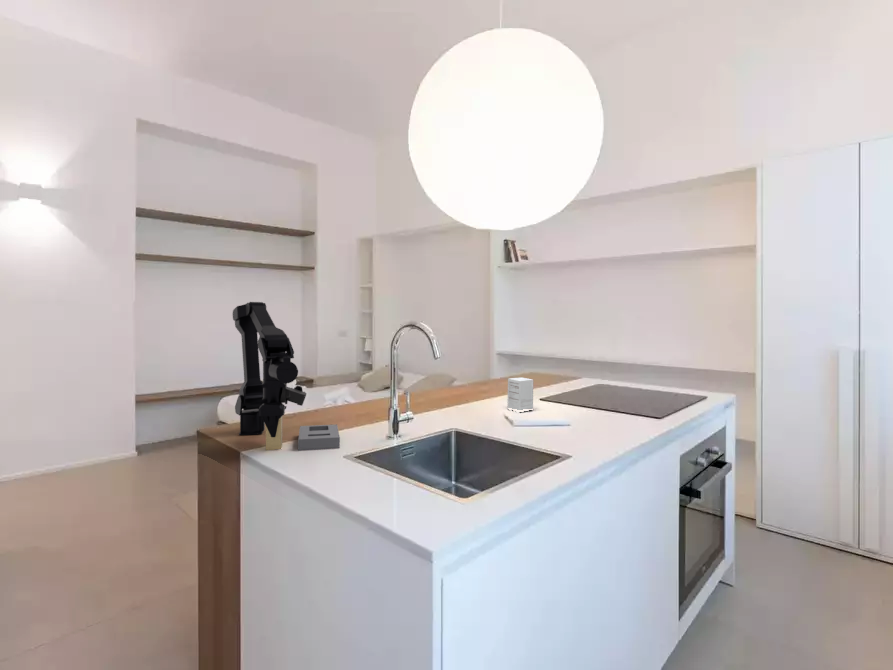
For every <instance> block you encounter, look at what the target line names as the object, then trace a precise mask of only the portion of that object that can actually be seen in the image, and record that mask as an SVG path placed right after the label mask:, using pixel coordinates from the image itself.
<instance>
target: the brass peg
mask: <svg viewBox="0 0 893 670" xmlns="http://www.w3.org/2000/svg"><path fill="white" fill-rule="evenodd" d="M281 448H283V416H282V417H281V418H280V419H279V422H278V427H277V432H276V437H271V435H270V433H269V431H268V429H267V427H266V426H265V451H275V450H274V449H281ZM281 450H282V449H281Z"/></svg>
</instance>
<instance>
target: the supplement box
mask: <svg viewBox="0 0 893 670" xmlns="http://www.w3.org/2000/svg"><path fill="white" fill-rule="evenodd" d="M508 408H512V409H517V410H523V409H532V408H533V409H534V379H531V378H528V377H527V378H526V377H522V376H521V377H511V378H507V409H508Z"/></svg>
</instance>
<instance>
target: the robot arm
mask: <svg viewBox="0 0 893 670" xmlns="http://www.w3.org/2000/svg"><path fill="white" fill-rule="evenodd" d="M232 320H233V321H234V326H235V329H236V331H238V333H239V334H240V335H241V336H240V337H241V349H242V365H243V366H242V367H243V383H242V385H241V387H240V389H239V390H238V397H237V399H236V402H235V406H234V411H235V414H236V415H238V416H239V433H238V436H247V435H248V436H249V435H250V436H251V435H262V434H263V433H264V431H266V427H267V429H268V431H269V433H270V435H271V437H276V432H277V427H278V422H279V419H280V418H281V417H282V418H283V416H285V413H286V409H287V405H288V403H289V402H290V403H294V404H295V405H297V406H302V407H303V404H304V402H305V399H306V397H307V392H306V391H303V386H301V385H296V386H295V387H294V388H293V387H288V384H291V383H293V382H295V380H296V379H297V378H298V374H299V369H298V367H297V365H296V364H295V363H294V362H292V361H291V359H294V358H295V357H294V356H295V355H294V354H295V351H294V349H293V348H294V347H293V346H292V342H291V341H290V338H289V337H288V334H287V333H286V332H285V331H284V330H283V329H281V328H278V327H277V326H276V325H275V323H274V321H273V319H272V318H271V315H270V314H269V312H268V309H267V304H266V303H265V302H262V301H261V302H260V301H249V302H247V303H245V304H240V305H236V307H235V308H233V310H232ZM258 335H259V337H258ZM259 353H260V354H259ZM260 356H261V357H262V380H261V371H260V370H261V369H260ZM285 405H286V406H285Z"/></svg>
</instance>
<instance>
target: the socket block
mask: <svg viewBox="0 0 893 670" xmlns="http://www.w3.org/2000/svg"><path fill="white" fill-rule="evenodd" d="M340 439H341V437H340V432H339V427H338V424H320V425H319V424H318V425H299V431H298V440H297V441H298V443H297V444H298V447H297V448H298V451H309V450H310V451H311V450H313V449H314V450H325V449H326V450H327V449H328V448H332V449H340V447H341V445H340V443H341V440H340ZM328 450H329V449H328Z"/></svg>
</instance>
